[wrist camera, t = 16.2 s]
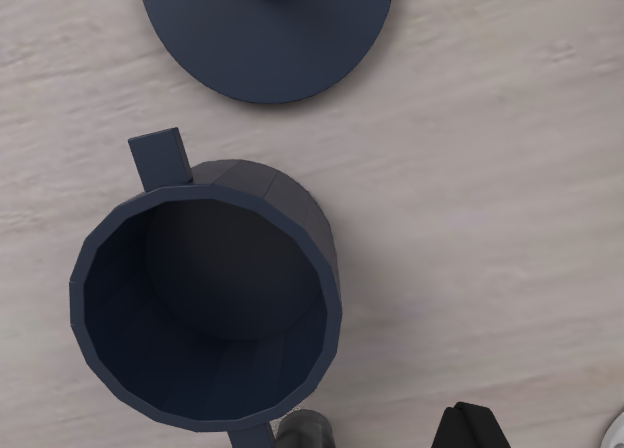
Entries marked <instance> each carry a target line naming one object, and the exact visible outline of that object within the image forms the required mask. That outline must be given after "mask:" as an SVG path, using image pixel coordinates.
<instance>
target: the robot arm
mask: <svg viewBox="0 0 624 448" xmlns="http://www.w3.org/2000/svg"><path fill="white" fill-rule="evenodd" d="M431 448H511V447H510V445H509V443H508V441H507V439H506V437H505V436H504V434H503V432H502V430H501V428H500V426H499V424H498V422H497V420H496V419H495V417H494V415H493V413H492V411H491V410H490V409H489V408H487V407H483V406H478V405H474V404H469V403H465V402H457V403H456V405H455V406H454V408H451V407H448V408H446V409H445V411H444V413H443V416H442V419H441V422H440V425H439V427H438V430H437V433H436V436H435V438H434V441H433V444H432V447H431ZM600 448H624V412H622V413H621V414H620V415H619V416H618V417H617V418H616V419H615V421H614V422H613V423H612V425H611V426H610V427H609V428H608V430H607V432H606V434H605V436H604V438H603V440H602V442H601V446H600Z"/></svg>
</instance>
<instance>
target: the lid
mask: <svg viewBox="0 0 624 448" xmlns="http://www.w3.org/2000/svg"><path fill="white" fill-rule="evenodd" d="M143 3H144V6H145V8H146V11H147V14H148V16H149V19H150V21H151V23H152V25H153V27H154V29H155V31H156V33H157V35H158V37H159V38H160V40H161V41H162V43H163V44H164V46H165V47H166V49H167V50H168V52H169V53H170V54H171V55H172V56H173V58H174V59H175V60H176V61H177V62H178V63H179V65H181V66H182V67H183V68H184V69H185V70H186V71H187V72H188V73H189V74H190V75H191V76H193V77H194V78H196V79H197V80H198V81H200V82H201V83H203V84H204V85H205V86H207V87H209V88H211V89H213V90H215V91H217V92H218V93H221V94H223V95H226V96H229V97H231V98H234V99H238V100H242V101H246V102H250V103H261V104H279V103H287V102H292V101H298V100H301V99H304V98H307V97H310V96H313V95H315V94H317V93H319V92H321V91H323V90H326V89H327V88H329V87H330V86H332V85H333V84H335V83H337V82H338V81H340V80H341V79H342V78H343V77H344V76H346V75H347V74H348V73H349V72H350V71H351V70H353V68H354V67H355V66H356V65H357V64H358V63H359V62H360V61H361V60H362V59H363V57H364V56H365V55H366V53H367V52H368V50H369V49H370V48H371V46H372V45H373V43H374V42H375V40H376V38H377V36H378V34H379V32H380V30H381V28H382V26H383V24H384V21H385V19H386V16H387V13H388V11H389V7H390V3H391V0H143Z"/></svg>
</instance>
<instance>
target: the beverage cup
mask: <svg viewBox="0 0 624 448" xmlns="http://www.w3.org/2000/svg"><path fill="white" fill-rule="evenodd" d="M275 441H276V445H275V448H336V446H335V442H334V438H333V435H332V428H331V425H330V423H329V422H328V420H327V419H326V418H325V417H324V416H322V415H321V414H320V413H317V412H314V411H312V410H299V411H294V412H292V413H290V414H288V415H287V416H286V417H285V418H284V419H283V420H282V421H281V423H280V425H279V428H278V433H277V436H276V438H275Z"/></svg>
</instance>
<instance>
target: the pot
mask: <svg viewBox="0 0 624 448" xmlns="http://www.w3.org/2000/svg"><path fill="white" fill-rule="evenodd" d="M128 143H129V146H130V149H131V152H132V155H133V158H134V161H135V164H136V166H137V169H138V172H139V175H140V178H141V181H142V184H143V187H144V190H145V191H144V192H142V193H140V194H138V195H137V196H135V197H133V198H131V199H129V200H127V201H126V202H124V203H122V204H120V205H118V206H117V207H115V208H114V209H113V211H112V212H111V213H110V214H109V215H108V216H107V217H106V218H105V219H104V220H103V221H102V222H101V223H100V224H99V225H98V226H97V227H96V228H95V229H94V230H93V231H92V232H91V233H90V234H89V235H88V236H87V238H86V239H85V241H84V243H83V246H82V248H81V251H80V254H79V256H78V259H77V262H76V264H75V267H74V270H73V272H72V275H71V277H70V282H69V293H70V323H71V327H72V330H73V332H74V335H75V337H76V339H77V342H78V344H79V347H80V349H81V351H82V354H83V356H84V358H85V361H86V363H87V365H88V366H89V367H90V368H91V370H92V371H93V372H94V373H95V374H96V375H97V376H98V377H99V379H100V380H101V381H102V382H103V383H104V384H105V385H106V386H107V388H108V389H109V390H110V391H111V392H112V393H113V394H114V395H115V396H116V397H118V398H117V399H119V400H120V401H122V402H124V403H125V404H127V405H129V406H130V407H132V408H134V409H135V410H137V411H139V412H140V413H142V414H144V415H145V416H147V417H149V418H150V419H152V420H154V421H156V422H159V423H163V424H167V425H171V426H175V427H179V428H182V429H186V430H190V431H194V432H224V431H227V433H228V436H229V439H230V441H231V444H232V447H233V448H275V445H276V441H275V438H274V435H273V432H272V429H271V425H270V422H269V421H272V420H274V419H277V418H280V417H282V416H284V415H285V414H286V413H287V412H289V411H290V410H291V409H292V408H294V407H295V406H296V405H297V404H299V403H300V402H301V401H302V400H304V399H305V398H306V397H307V396H309V395H310V394H311V393H312V392H314V390H315V389H316V388H317V386H318V384H319V383H320V381H321V379H322V377H323V376H324V374H325V372H326V371H327V369H328V367H329V366H330V364H331V362H332V360H333V359H334V357H335V355H336V353H337V346H338V340H339V333H340V326H341V319H342V302H341V293H340V283H339V273H338V263H337V254H336V250H335V246H334V241H333V236H332V233H331V229H330V225H329V222H328V220H327V219H326V217H325V215H324V213H323V212H322V210H321V208H320V207H319V205H318V204H317V202H316V201H315V200H314V199H313V197H312V196H311V195H310V193H309V192H308V191H306V190H305V189H304V188H303V187H302V186H301V185H300V184H299V183H297V182H296V181H295V180H293V179H292V178H290V177H289V176H287V175H286V174H284V173H282V172H280V171H278V170H276V169H274V168H272V167H269V166H266V165H263V164H260V163H256V162H251V161H246V160H235V159H232V160H217V161H208V162H203V163H201V164H199V165H196V166H194V167H192V168H190V165H189V162H188V158H187V155H186V152H185V149H184V146H183V142H182V139H181V136H180V133H179V129H178V128H177V127H175V128H171V129H167V130H163V131H159V132H155V133H151V134H146V135H142V136H138V137H134V138H130V139H128Z"/></svg>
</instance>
